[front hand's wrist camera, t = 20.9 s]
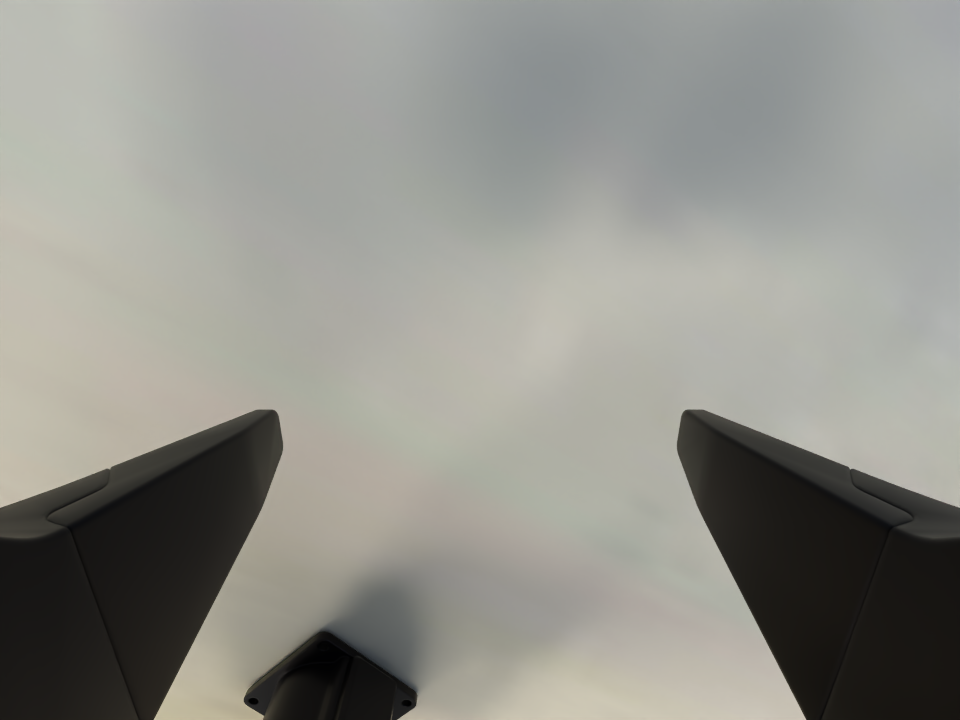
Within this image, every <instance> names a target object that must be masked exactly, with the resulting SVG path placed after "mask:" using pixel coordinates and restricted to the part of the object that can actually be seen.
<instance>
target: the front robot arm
mask: <svg viewBox="0 0 960 720" xmlns="http://www.w3.org/2000/svg"><path fill="white" fill-rule="evenodd" d="M282 451H283V440H282V434H281V428H280V422H279V416H278V414H277V412H276V411H275V410H255V411H252V412H250V413H247V414H245V415H242V416H240V417H237V418H235V419H232V420H230V421H227V422H224V423H222V424H219V425H217V426H214V427H212V428H209V429H207V430H204V431H202V432H199V433H197V434H194V435H191V436H189V437H186V438H184V439H181V440H179V441H176V442H174V443H171V444H169V445H166V446H164V447H161V448H158V449H156V450H153V451H151V452H148V453H146V454H143V455H141V456H138V457H136V458H133V459H131V460H128V461H126V462H123V463H120V464H118V465H115V466H113V467H111V469H105V470H102V471H100V472H97V473H95V474H92V475H90V476H87V477H85V478H82V479H79V480H77V481H74V482H71V483H69V484H66V485H64V486H61V487H58V488H55V489H53V490H50V491H47V492H44V493H42V494H39V495H36V496H33V497H30V498H28V499H25V500H22V501H19V502H16V503H13V504H10V505H8V506H5V507H2V508H0V720H154V718H155V716H156V714H157V712H158V710H159V708H160V706H161V704H162V702H163V700H164V698H165V697H166V695H167V693H168V691H169V689H170V687H171V685H172V683H173V681H174V679H175V677H176V675H177V673H178V671H179V669H180V667H181V665H182V663H183V661H184V659H185V657H186V656H187V654H188V652H189V650H190V648H191V646H192V644H193V642H194V640H195V638H196V636H197V634H198V632H199V630H200V628H201V626H202V624H203V622H204V620H205V618H206V617H207V615H208V613H209V611H210V609H211V607H212V605H213V603H214V601H215V599H216V597H217V595H218V593H219V591H220V589H221V587H222V585H223V583H224V581H225V579H226V577H227V576H228V574H229V572H230V570H231V568H232V566H233V564H234V562H235V560H236V558H237V556H238V554H239V552H240V550H241V548H242V546H243V544H244V542H245V540H246V538H247V536H248V535H249V533H250V531H251V529H252V527H253V525H254V523H255V521H256V519H257V517H258V515H259V513H260V511H261V509H262V506H263V504H264V501H265V499H266V496H267V493H268V490H269V488H270V485H271V482H272V480H273V477H274V474H275V471H276V469H277V466H278V463H279V460H280V458H281V455H282ZM677 451H678V455H679V458H680V460H681V463H682V466H683V469H684V471H685V474H686V477H687V480H688V482H689V485H690V488H691V490H692V493H693V496H694V499H695V501H696V504H697V506H698V509H699V511H700V513H701V515H702V517H703V519H704V521H705V523H706V525H707V527H708V529H709V531H710V533H711V535H712V536H713V538H714V540H715V542H716V544H717V546H718V548H719V550H720V552H721V554H722V556H723V558H724V560H725V562H726V564H727V566H728V568H729V570H730V572H731V574H732V576H733V577H734V579H735V581H736V583H737V585H738V587H739V589H740V591H741V593H742V595H743V597H744V599H745V601H746V603H747V605H748V607H749V609H750V611H751V613H752V615H753V617H754V618H755V620H756V622H757V624H758V626H759V628H760V630H761V632H762V634H763V636H764V638H765V640H766V642H767V644H768V646H769V648H770V650H771V652H772V654H773V656H774V657H775V659H776V661H777V663H778V665H779V667H780V669H781V671H782V673H783V675H784V677H785V679H786V681H787V683H788V685H789V687H790V689H791V691H792V693H793V695H794V697H795V698H796V700H797V702H798V704H799V706H800V708H801V710H802V712H803V714H804V716H805V718H806V720H960V508H958V507H955V506H952V505H950V504H947V503H944V502H941V501H938V500H935V499H932V498H930V497H927V496H924V495H921V494H918V493H916V492H913V491H910V490H907V489H905V488H902V487H899V486H896V485H894V484H891V483H889V482H886V481H883V480H881V479H878V478H875V477H873V476H870V475H868V474H865V473H863V472H860V471H858V470H855V469H851V470H850V469H849V467H847V466H845V465H842V464H840V463H837V462H834V461H832V460H829V459H827V458H824V457H822V456H819V455H817V454H814V453H812V452H809V451H807V450H804V449H802V448H799V447H796V446H794V445H791V444H789V443H786V442H784V441H781V440H779V439H776V438H774V437H771V436H769V435H766V434H763V433H761V432H758V431H756V430H753V429H751V428H748V427H746V426H743V425H741V424H738V423H736V422H733V421H730V420H728V419H725V418H723V417H720V416H718V415H715V414H713V413H710V412H708V411H705V410H685V411H684V412H683V414H682V416H681V422H680V428H679V434H678V440H677ZM244 702H245V704H246V705H247V706H249V707H250V708H252V709H254V710H255V711H257V712H259V713H260V714H262V715H264V718H263V720H397V719H399V718H400V717H401V716H403V715H404V714H406V713H407V712H409V711H410V710H412V709H413V708H414V707H415V706H416V703H417V693H416V692H415V691H414V690H412V689H411V688H409V687H408V686H407V685H405V684H404V683H402V682H401V681H399V680H398V679H396V678H395V677H393V676H392V675H391V674H389V673H388V672H386V671H385V670H383V669H382V668H380V667H379V666H377V665H376V664H375V663H373V662H372V661H370V660H369V659H367V658H366V657H364V656H363V655H361V654H360V653H359V652H357V651H356V650H354V649H353V648H351V647H350V646H348V645H347V644H345V643H344V642H343V641H341V640H340V639H338V638H337V637H335V636H334V635H332V634H330V633H328V632H321V633H319V634H317V635H316V636H314V637H313V638H312V639H311V640H309V641H308V642H307V643H306V644H304V645H303V646H302V647H301V648H299V649H298V650H297V651H296V652H294V653H293V654H292V655H291V656H289V657H288V658H287V659H286V660H284V661H283V662H282V663H281V664H279V665H278V666H277V667H276V668H274V669H273V670H272V671H271V672H269V673H268V674H267V675H266V676H264V677H263V678H262V679H260V680H259V681H258V682H257V683H255V684H254V685H253V686H252V687H250V688H249V689H248V691H247V693H246V695H245V697H244Z"/></svg>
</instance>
